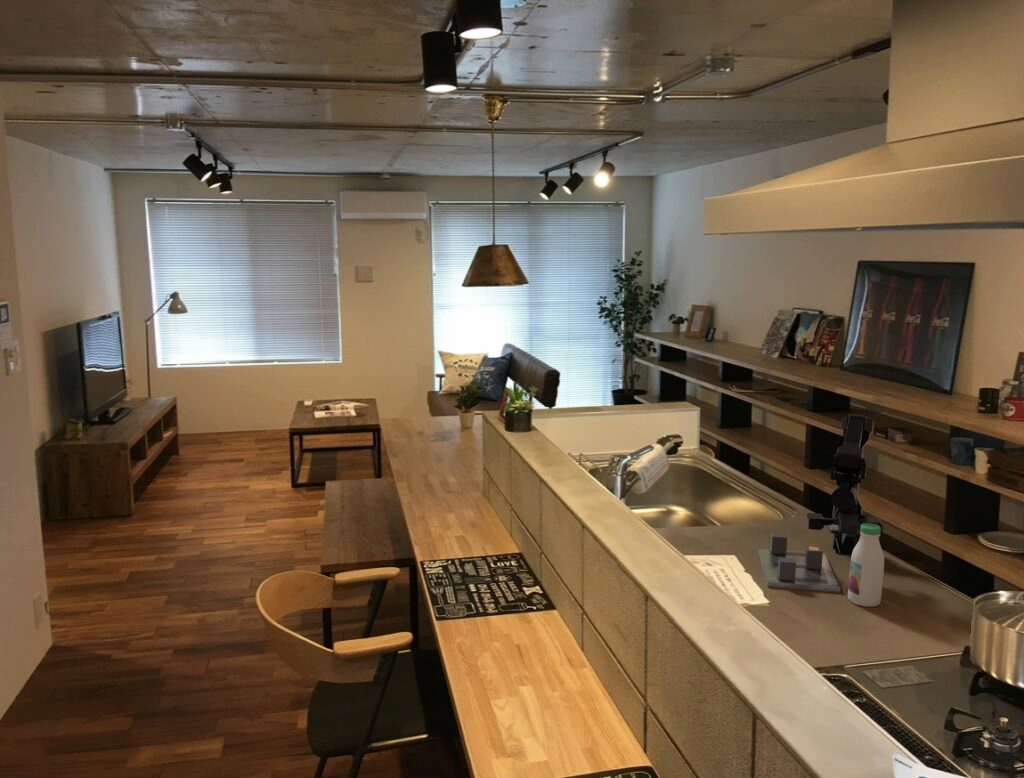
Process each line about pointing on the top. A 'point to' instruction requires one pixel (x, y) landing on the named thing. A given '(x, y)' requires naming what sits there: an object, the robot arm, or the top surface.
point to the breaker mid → (813, 558)
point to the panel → (799, 573)
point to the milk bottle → (866, 568)
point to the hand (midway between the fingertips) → (841, 553)
